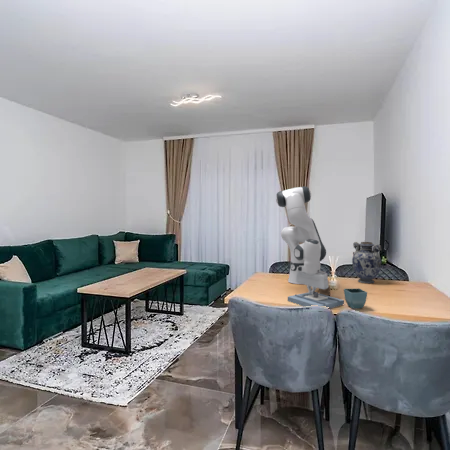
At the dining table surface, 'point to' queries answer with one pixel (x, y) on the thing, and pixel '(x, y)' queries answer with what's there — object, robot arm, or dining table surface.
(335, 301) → the puzzle board
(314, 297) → the lid
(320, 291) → the walnut block
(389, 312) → the dining table surface
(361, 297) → the flower pot
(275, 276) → the dining table surface
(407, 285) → the dining table surface
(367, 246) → the decorative vase
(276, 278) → the dining table surface
